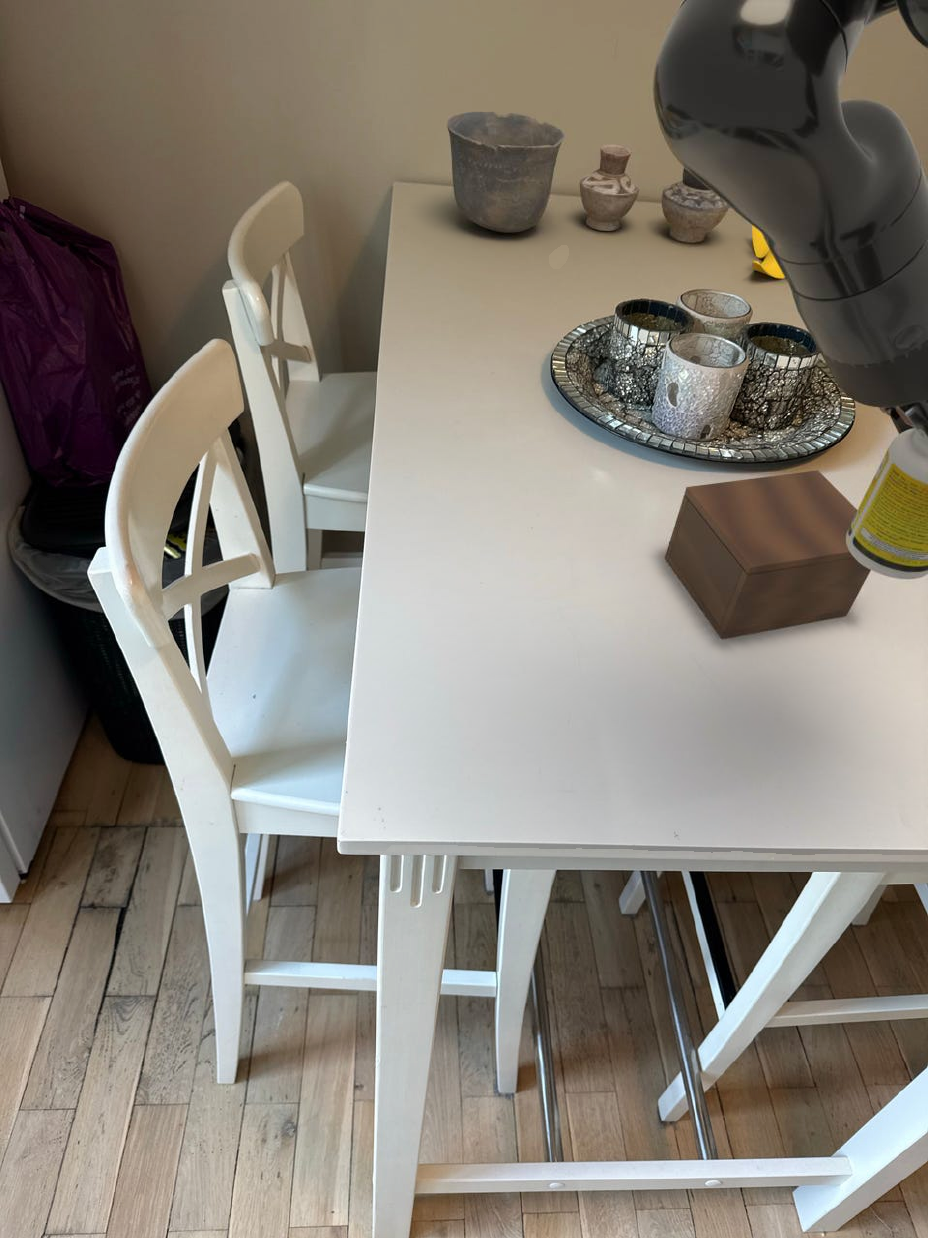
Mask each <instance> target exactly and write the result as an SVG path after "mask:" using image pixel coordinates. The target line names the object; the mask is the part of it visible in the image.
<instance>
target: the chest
mask: <svg viewBox="0 0 928 1238" xmlns="http://www.w3.org/2000/svg"><path fill="white" fill-rule="evenodd" d="M666 548H667V549H666V552H665V555H664V559H665V560H666V562H667V563H668V565H669V567H671V569H672V571H673V572H674V574H675V575H676V576H677V578H678V579H679V581H680V582H681V583H682V585H683V586H684V587H685V589H686V590H687V592H688V594H689V595H690V596H691V597H692V599H693V601H694V602H695V603H696V604H697V606H698V608H699V609H700V610H701V612H702V613H703V614H704V616H705V618H707V620H708V621H709V623H710V624H711V626H712V627H713V628H714V630H715V632H716V633H717V634H718V636H719V637H720V638H721V640H725V639H729V638H735V637H739V636H740V637H741V636H746V635H751V634H757V633H761V632H766V631H772V630H777V629H782V628H788V627H793V626H798V625H804V624H810V623H815V622H821V621H826V620H831V619H836V618H842V617H847V616H848V614H849V613H850V610H851V608H852V607H853V605H854V603H855V601H856V599H857V597H858V596H859V594H860V592H861V590H862V588H863V587H864V584H865V583H866V581H867V579H868V577H869V575H870V573H871V571H872V570H870V569H868V568H867V567H865V566H863V565H862V564H860V563H859V562H858V561H857V560H856V559H855V558H854V557H853V558H847V559H841V560H834V561H828V562H822V563H816V564H810V565H804V566H797V567H791V568H785V569H779V570H773V571H767V572H760V573H754V574H747V572H746V571H745V570H744V569H743V567H742V566H741V565H740V564H739V562H738V561H737V560H736V559H735V557H734V556H733V555H732V553H731V552H730V551H729V550H728V548H727V547H726V546H725V545H724V543H723V542H722V541H721V539H720V538H719V537H718V536H717V534H716V533H715V532H714V531H713V529H712V528H711V527H710V526H709V524H708V523H707V522H706V520H705V519H704V518H703V517H702V515H701V514H700V513H699V512H698V510H697V509H696V508H695V506H694V505H693V504H692V503H691V501H690V500H689V499H688V498H687V496H686V495H685V494H684V495H683V498H682V500H681V504H680V507H679V510H678V513H677V517H676V520H675V522H674V527H673V529H672V533H671V536H670V539H669V541H668V546H667V547H666Z"/></svg>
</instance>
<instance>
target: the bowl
mask: <svg viewBox="0 0 928 1238" xmlns="http://www.w3.org/2000/svg"><path fill="white" fill-rule="evenodd" d="M446 127H447V131H448V134H449V142H450V153H451V173H452V174H451V175H452V185H453V187H452V188H453V194H454V199H455V203H456V206H457V208H458V209H459V211H460V212H461V213H462V214H463V216H465V217H466V218H467V219H468V220H470V221H471V222H473V223H475V224H476V225H478V226H479V227H481V228H484V229H488V230H490V231H493V232H498V233H505V234H510V233H511V234H512V233H513V234H514V233H515V234H516V233H521V232H525V231H526V230H528V229H530V228H532V227H534V226H535V225H536V224H538V223H539V222H540V221H541V219H542V217H543V216H544V213H545V211H546V209H547V207H548V203H549V198H550V194H551V189H552V185H553V184H552V183H553V179H554V178H553V177H554V171H555V167H556V163H557V157H558V154H559V150H560V147H561V145H562V143H563V141H564V139H565V133H564V132H563V131H562V130H561V128H558V127H557V126H554V125H553V124H550V123H548V122H546V121H545V122H544V121H540V120H539V119H537V118H533V117H531V116H528V115H524V114H518V113H512V112H510V113H507V114H505V113H504V114H499V113H497V112H495V111H470V112H464V113H459V114H457V115H453V116H452V117H450V118H449V119H448V120H447V122H446Z"/></svg>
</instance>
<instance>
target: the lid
mask: <svg viewBox="0 0 928 1238" xmlns="http://www.w3.org/2000/svg"><path fill="white" fill-rule="evenodd" d="M684 495H686V496H687V498H688V499H689V500H690V501H691V503H692V504H693V505H694V506H695V508H696V509H697V510H698V512H699V513H700V514H701V515H702V517H703V518H704V519H705V520H706V522H707V523H708V524H709V526H710V527H711V528H712V529H713V531H714V532H715V533H716V534H717V536H718V537H719V538H720V539H721V541H722V542H723V543H724V545H725V546H726V547H727V548H728V550H729V551H730V552H731V553H732V555H733V556H734V557H735V559H736V560H737V561H738V562H739V564H740V565H741V566H742V567H743V569H744V570H745V571H746V572H747V574H754V573H760V572H767V571H773V570H779V569H785V568H791V567H797V566H804V565H810V564H816V563H822V562H828V561H834V560H841V559H847V558H853V555H852V554H851V553H850V551H849V549H848V547H847V544H846V534H847V531H848V529H849V527H850V525H851V523H852V521H853V518H854V516H855V514H856V512H857V510H858V508H856V507H855V506H854V505H853V504H852V503H851V502H850V501H849V500H848V499H847V498H846V496H844V495H843V493H841V491H839V490H838V489H837V488H836V486H834V485H833V483H831V482H830V481H829V479H827V478H826V477H825V475H824V474H822V473H821V471H819V470H817V469H816V470H808V471H801V472H794V473H793V472H792V473H786V474H785V473H784V474H776V475H769V476H762V477H753V478H747V479H745V478H744V479H739V480H732V481H723V482H714V483H707V484H699V485H692V486H686V487H685V491H684Z"/></svg>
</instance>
